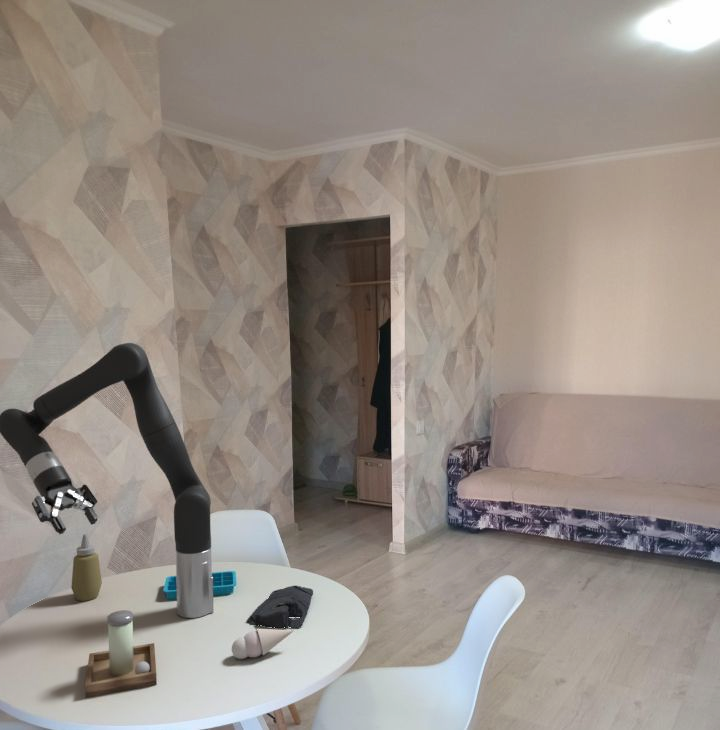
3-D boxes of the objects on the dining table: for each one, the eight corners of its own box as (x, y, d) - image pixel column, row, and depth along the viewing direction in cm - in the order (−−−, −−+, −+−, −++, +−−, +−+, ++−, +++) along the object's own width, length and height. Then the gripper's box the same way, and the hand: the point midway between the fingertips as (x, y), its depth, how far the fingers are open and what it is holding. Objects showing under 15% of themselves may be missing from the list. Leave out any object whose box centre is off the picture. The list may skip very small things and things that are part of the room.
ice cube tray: (166, 586, 189) (166, 576, 189) (235, 580, 193) (235, 570, 193) (163, 602, 178) (163, 592, 178) (236, 595, 182) (236, 585, 182)
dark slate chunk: (322, 597, 181) (322, 580, 181) (299, 633, 160) (299, 614, 159) (271, 593, 184) (270, 577, 184) (242, 627, 163) (241, 609, 162)
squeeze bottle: (91, 604, 176) (89, 540, 175) (65, 602, 178) (63, 538, 177) (108, 592, 184) (106, 531, 183) (83, 590, 186) (81, 529, 185)
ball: (149, 671, 139) (149, 657, 139) (149, 678, 136) (149, 664, 136) (135, 673, 138) (134, 660, 138) (135, 680, 135) (134, 667, 135)
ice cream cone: (298, 648, 151) (235, 669, 146) (290, 624, 155) (229, 644, 150) (298, 636, 147) (234, 658, 142) (291, 612, 151) (228, 633, 146)
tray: (154, 653, 149) (154, 643, 149) (156, 684, 136) (156, 673, 136) (89, 664, 144) (89, 653, 144) (85, 697, 131) (85, 685, 131)
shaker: (134, 661, 143) (132, 608, 143) (134, 673, 138) (132, 618, 138) (109, 665, 142) (107, 612, 141) (108, 677, 137) (107, 622, 136)
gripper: (26, 470, 150) (58, 525, 145) (80, 459, 162) (111, 510, 157) (14, 490, 153) (45, 544, 148) (67, 478, 165) (98, 528, 160)
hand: (79, 527), depth 152 cm, fingers open, 8 cm apart
